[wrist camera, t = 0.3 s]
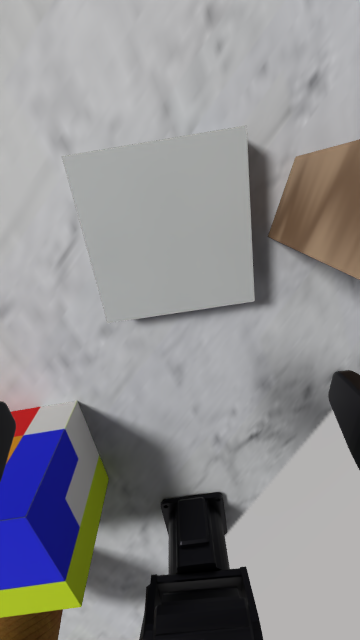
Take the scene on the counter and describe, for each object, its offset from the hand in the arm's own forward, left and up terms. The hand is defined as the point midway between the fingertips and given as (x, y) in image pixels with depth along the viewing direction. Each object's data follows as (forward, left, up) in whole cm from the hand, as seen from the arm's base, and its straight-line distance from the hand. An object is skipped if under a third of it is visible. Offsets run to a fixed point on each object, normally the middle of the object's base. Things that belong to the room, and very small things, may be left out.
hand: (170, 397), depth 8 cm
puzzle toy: (-15, +15, -14) cm, 26 cm away
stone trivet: (+3, 0, -15) cm, 15 cm away
